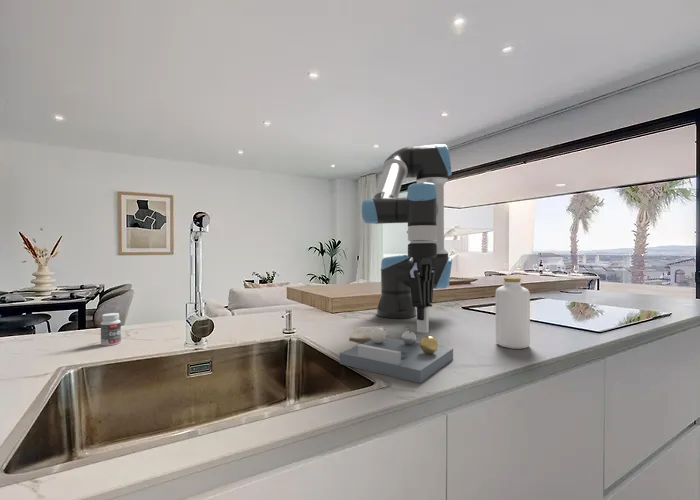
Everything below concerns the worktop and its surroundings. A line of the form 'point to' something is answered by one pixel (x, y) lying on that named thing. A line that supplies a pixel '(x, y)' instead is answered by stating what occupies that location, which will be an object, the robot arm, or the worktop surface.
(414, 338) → the steel ball
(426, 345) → the brass ball
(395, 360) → the board
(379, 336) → the white ball
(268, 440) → the worktop surface
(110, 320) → the pill bottle
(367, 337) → the stone
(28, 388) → the worktop surface
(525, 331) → the potion bottle
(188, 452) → the worktop surface
